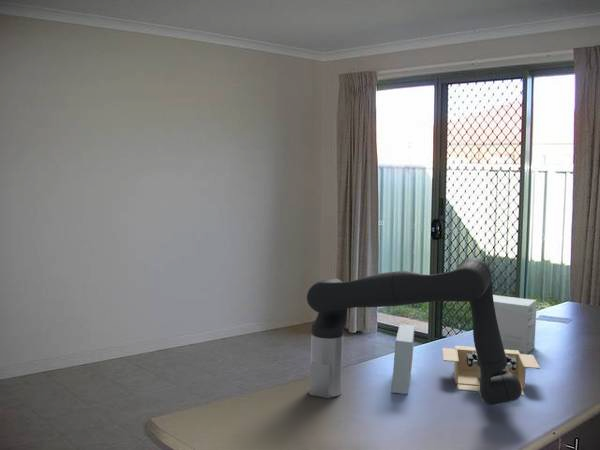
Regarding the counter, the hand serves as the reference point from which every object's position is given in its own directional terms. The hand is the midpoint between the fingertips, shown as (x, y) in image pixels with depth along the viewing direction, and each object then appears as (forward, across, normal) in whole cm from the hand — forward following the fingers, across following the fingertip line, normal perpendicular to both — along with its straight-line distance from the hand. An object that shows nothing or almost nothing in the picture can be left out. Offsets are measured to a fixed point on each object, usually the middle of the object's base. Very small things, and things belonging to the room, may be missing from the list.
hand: (489, 354), depth 210 cm
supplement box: (+42, -11, +9) cm, 44 cm away
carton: (0, 0, +9) cm, 9 cm away
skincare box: (-8, +26, +9) cm, 29 cm away
